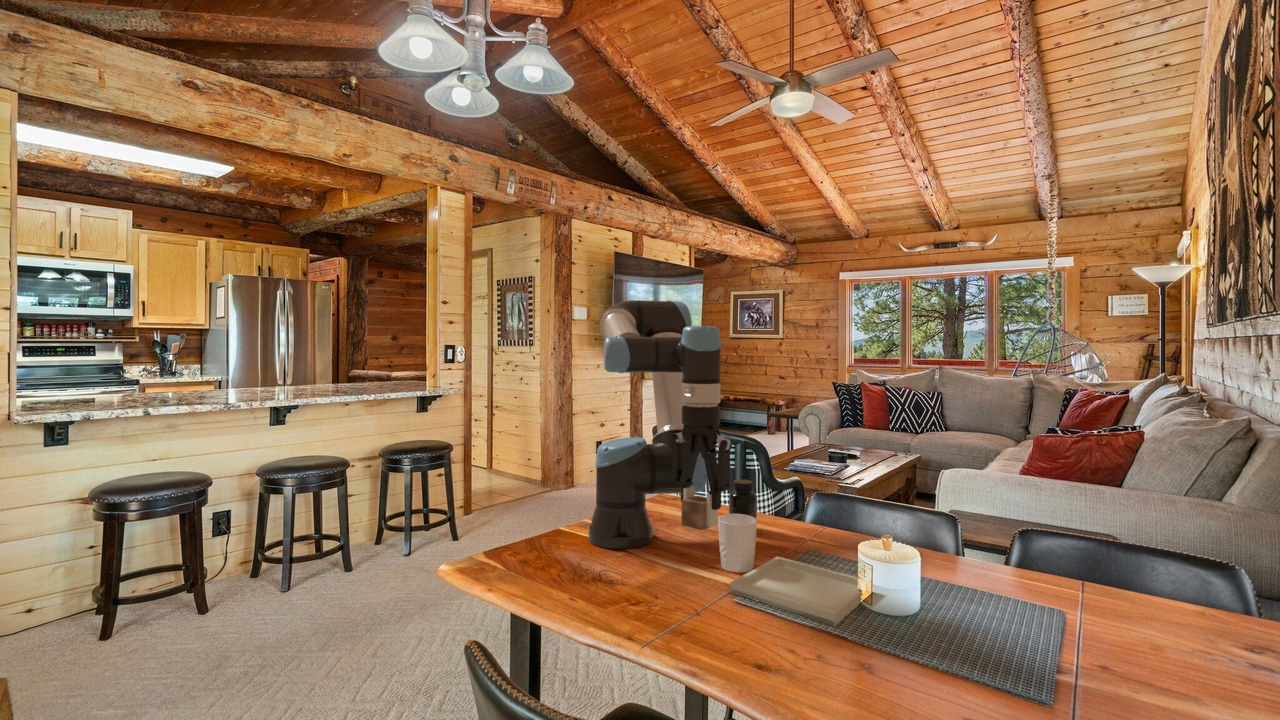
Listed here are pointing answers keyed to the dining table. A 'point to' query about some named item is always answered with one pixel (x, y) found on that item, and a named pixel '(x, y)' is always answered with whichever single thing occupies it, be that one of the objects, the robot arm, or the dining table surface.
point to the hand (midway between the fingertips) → (700, 522)
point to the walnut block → (695, 512)
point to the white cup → (737, 542)
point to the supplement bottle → (743, 499)
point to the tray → (801, 589)
